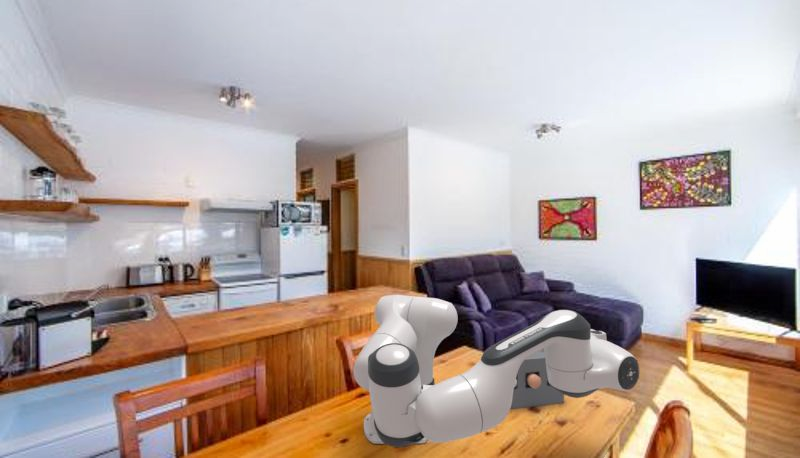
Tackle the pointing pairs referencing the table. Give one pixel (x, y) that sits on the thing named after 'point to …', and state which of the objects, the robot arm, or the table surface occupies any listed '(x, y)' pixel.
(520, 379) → the control box
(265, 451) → the table surface
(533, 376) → the terracotta button
